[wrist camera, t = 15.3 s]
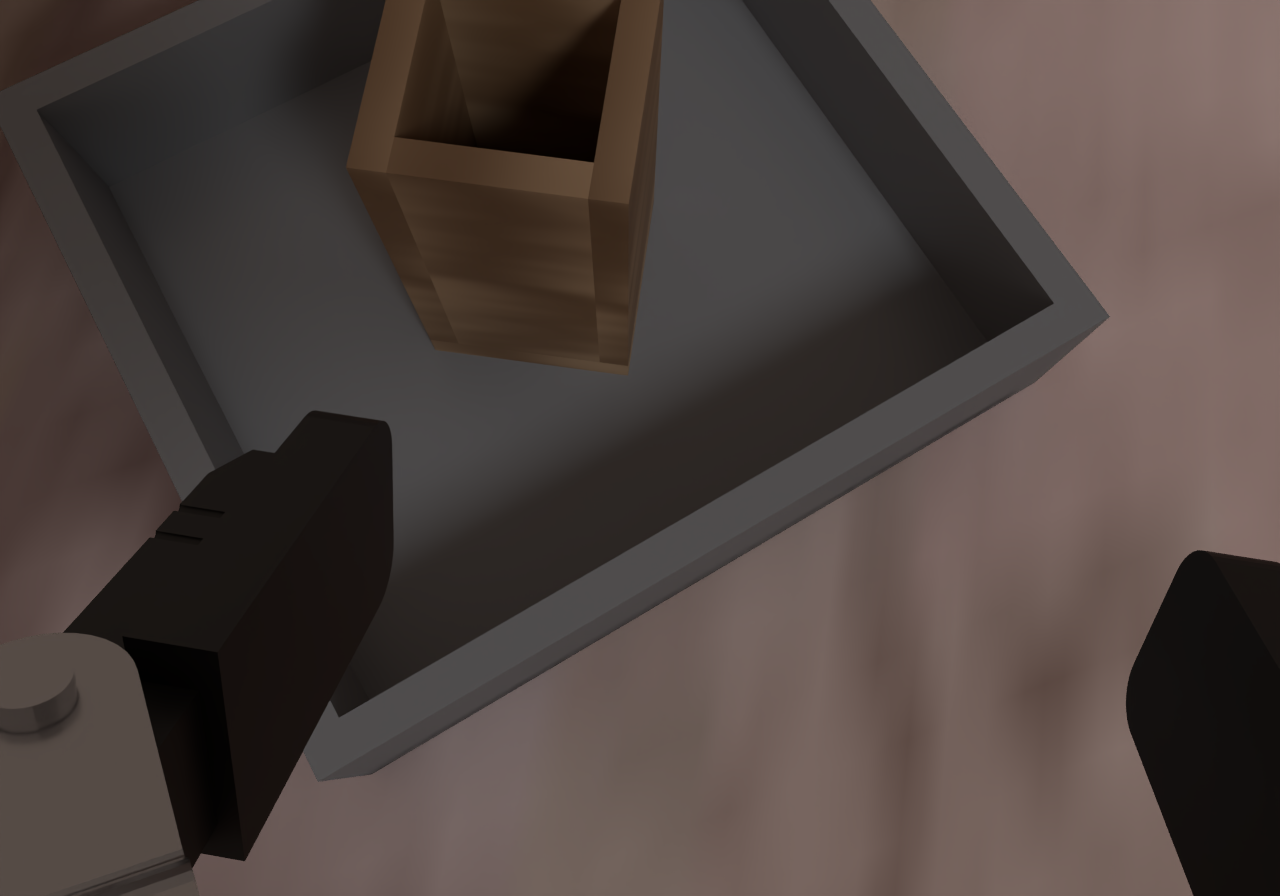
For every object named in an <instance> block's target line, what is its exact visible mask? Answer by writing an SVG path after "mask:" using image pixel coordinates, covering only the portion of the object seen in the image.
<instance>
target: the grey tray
mask: <svg viewBox="0 0 1280 896" xmlns="http://www.w3.org/2000/svg"><path fill="white" fill-rule="evenodd" d="M385 1H386V0H198V1H196V2H194V3H191V4H189V5H187V6H185V7H183V8H181V9H178V10H176V11H174V12H172V13H170V14H167V15H165V16H163V17H161V18H159V19H157V20H154V21H152V22H150V23H148V24H146V25H143V26H141V27H139V28H137V29H135V30H133V31H130V32H128V33H126V34H124V35H122V36H119V37H117V38H115V39H113V40H111V41H109V42H106V43H104V44H102V45H100V46H98V47H96V48H93V49H91V50H89V51H87V52H85V53H82V54H80V55H78V56H76V57H74V58H72V59H69V60H67V61H65V62H63V63H61V64H58V65H56V66H54V67H52V68H50V69H48V70H45V71H43V72H41V73H39V74H37V75H34V76H32V77H30V78H28V79H26V80H24V81H21V82H19V83H17V84H15V85H13V86H10V87H8V88H6V89H4V90H2V91H0V127H1V129H2V131H3V133H4V135H5V137H6V139H7V141H8V143H9V145H10V147H11V150H12V152H13V154H14V156H15V158H16V160H17V162H18V164H19V166H20V168H21V170H22V172H23V174H24V176H25V178H26V180H27V183H28V185H29V187H30V189H31V191H32V193H33V195H34V197H35V199H36V201H37V203H38V205H39V207H40V209H41V211H42V213H43V216H44V218H45V220H46V222H47V224H48V226H49V228H50V230H51V232H52V234H53V236H54V238H55V240H56V242H57V244H58V246H59V249H60V251H61V253H62V255H63V257H64V259H65V261H66V263H67V265H68V267H69V269H70V271H71V273H72V275H73V277H74V279H75V282H76V284H77V286H78V288H79V290H80V292H81V294H82V296H83V298H84V300H85V302H86V304H87V306H88V308H89V310H90V312H91V315H92V317H93V319H94V321H95V323H96V325H97V327H98V329H99V331H100V333H101V335H102V337H103V339H104V341H105V343H106V345H107V348H108V350H109V352H110V354H111V356H112V358H113V360H114V362H115V364H116V366H117V368H118V370H119V372H120V374H121V376H122V378H123V381H124V383H125V385H126V387H127V389H128V391H129V393H130V395H131V397H132V399H133V401H134V403H135V405H136V407H137V409H138V411H139V414H140V416H141V418H142V420H143V422H144V424H145V426H146V428H147V430H148V432H149V434H150V436H151V438H152V440H153V442H154V444H155V447H156V449H157V451H158V453H159V455H160V457H161V459H162V461H163V463H164V465H165V467H166V469H167V471H168V473H169V475H170V477H171V480H172V482H173V484H174V486H175V488H176V490H177V492H178V494H179V496H180V498H181V500H182V501H183V500H184V499H185V498H186V497H187V496H188V495H189V494H190V493H191V492H192V490H193V489H194V488H195V487H196V486H197V485H198V484H199V483H200V482H201V481H202V479H203V478H204V477H205V476H206V475H207V474H208V473H210V472H211V471H213V470H215V469H217V468H219V467H221V466H223V465H225V464H226V463H228V462H230V461H232V460H234V459H236V458H238V457H240V456H241V455H243V454H245V453H247V452H249V451H251V450H260V451H266V452H272V453H275V452H276V451H277V449H278V448H279V447H280V446H281V445H282V443H283V442H284V441H285V440H286V439H287V437H288V436H289V435H290V434H291V433H292V431H293V430H294V429H295V428H296V427H297V425H298V424H299V423H300V422H301V421H302V419H303V418H304V417H305V416H306V415H307V414H308V413H309V412H311V411H314V410H317V411H324V412H330V413H336V414H343V415H349V416H356V417H362V418H368V419H375V420H381V421H385V422H387V424H388V425H389V427H390V431H391V436H392V459H393V524H394V551H393V561H392V567H391V573H390V577H389V581H388V585H387V589H386V592H385V595H384V597H383V600H382V602H381V604H380V606H379V608H378V610H377V612H376V614H375V616H374V618H373V620H372V622H371V624H370V625H369V627H368V629H367V631H366V633H365V635H364V637H363V639H362V641H361V642H360V644H359V646H358V648H357V650H356V652H355V654H354V656H353V658H352V660H351V661H350V663H349V665H348V667H347V669H346V671H345V673H344V675H343V677H342V678H341V680H340V682H339V684H338V686H337V688H336V690H335V692H334V694H333V695H332V697H331V699H330V701H329V703H328V705H327V707H326V709H325V711H324V712H323V714H322V716H321V718H320V720H319V722H318V724H317V726H316V728H315V729H314V731H313V733H312V735H311V737H310V739H309V741H308V743H307V745H306V746H305V748H304V750H303V752H304V754H305V756H306V758H307V760H308V762H309V764H310V766H311V768H312V770H313V772H314V775H315V777H316V779H317V781H318V782H319V781H327V780H334V779H341V778H349V777H356V776H363V775H371V774H373V773H374V772H376V771H378V770H379V769H381V768H383V767H385V766H386V765H388V764H390V763H391V762H393V761H395V760H396V759H398V758H400V757H401V756H403V755H405V754H407V753H408V752H410V751H412V750H413V749H415V748H417V747H418V746H420V745H422V744H423V743H425V742H427V741H429V740H430V739H432V738H434V737H435V736H437V735H439V734H440V733H442V732H444V731H445V730H447V729H449V728H451V727H452V726H454V725H456V724H457V723H459V722H461V721H462V720H464V719H466V718H467V717H469V716H471V715H473V714H474V713H476V712H478V711H479V710H481V709H483V708H484V707H486V706H488V705H489V704H491V703H493V702H495V701H496V700H498V699H500V698H501V697H503V696H505V695H506V694H508V693H510V692H511V691H513V690H515V689H517V688H518V687H520V686H522V685H523V684H525V683H527V682H528V681H530V680H532V679H533V678H535V677H537V676H539V675H540V674H542V673H544V672H545V671H547V670H549V669H550V668H552V667H554V666H555V665H557V664H559V663H561V662H562V661H564V660H566V659H567V658H569V657H571V656H572V655H574V654H576V653H577V652H579V651H581V650H583V649H584V648H586V647H588V646H589V645H591V644H593V643H594V642H596V641H598V640H599V639H601V638H603V637H605V636H606V635H608V634H610V633H611V632H613V631H615V630H616V629H618V628H620V627H621V626H623V625H625V624H627V623H628V622H630V621H632V620H633V619H635V618H637V617H638V616H640V615H642V614H643V613H645V612H647V611H649V610H650V609H652V608H654V607H655V606H657V605H659V604H660V603H662V602H664V601H665V600H667V599H669V598H671V597H672V596H674V595H676V594H677V593H679V592H681V591H682V590H684V589H686V588H687V587H689V586H691V585H693V584H694V583H696V582H698V581H699V580H701V579H703V578H704V577H706V576H708V575H709V574H711V573H713V572H715V571H716V570H718V569H720V568H721V567H723V566H725V565H726V564H728V563H730V562H731V561H733V560H735V559H737V558H738V557H740V556H742V555H743V554H745V553H747V552H748V551H750V550H752V549H753V548H755V547H757V546H759V545H760V544H762V543H764V542H765V541H767V540H769V539H770V538H772V537H774V536H775V535H777V534H779V533H781V532H782V531H784V530H786V529H787V528H789V527H791V526H792V525H794V524H796V523H797V522H799V521H801V520H803V519H804V518H806V517H808V516H809V515H811V514H813V513H814V512H816V511H818V510H819V509H821V508H823V507H825V506H826V505H828V504H830V503H831V502H833V501H835V500H836V499H838V498H840V497H841V496H843V495H845V494H847V493H848V492H850V491H852V490H853V489H855V488H857V487H858V486H860V485H862V484H863V483H865V482H867V481H869V480H870V479H872V478H874V477H875V476H877V475H879V474H880V473H882V472H884V471H885V470H887V469H889V468H891V467H892V466H894V465H896V464H897V463H899V462H901V461H902V460H904V459H906V458H907V457H909V456H911V455H913V454H914V453H916V452H918V451H919V450H921V449H923V448H924V447H926V446H928V445H929V444H931V443H933V442H935V441H936V440H938V439H940V438H941V437H943V436H945V435H946V434H948V433H950V432H951V431H953V430H955V429H957V428H958V427H960V426H962V425H963V424H965V423H967V422H968V421H970V420H972V419H973V418H975V417H977V416H979V415H980V414H982V413H984V412H985V411H987V410H989V409H990V408H992V407H994V406H995V405H997V404H999V403H1001V402H1002V401H1004V400H1006V399H1007V398H1009V397H1011V396H1012V395H1014V394H1016V393H1017V392H1019V391H1021V390H1023V389H1024V388H1026V387H1028V386H1029V385H1031V384H1033V383H1034V382H1036V381H1037V380H1038V379H1039V378H1040V377H1042V376H1043V375H1044V374H1045V373H1046V372H1047V371H1048V370H1050V369H1051V368H1052V367H1053V366H1054V365H1055V364H1056V363H1058V362H1059V361H1060V360H1061V359H1062V358H1063V357H1064V356H1066V355H1067V354H1068V353H1069V352H1070V351H1071V350H1072V349H1074V348H1075V347H1076V346H1077V345H1078V344H1079V343H1080V342H1082V341H1083V340H1084V339H1085V338H1086V337H1087V336H1088V335H1090V334H1091V333H1092V332H1093V331H1094V330H1095V329H1096V328H1098V327H1099V326H1100V325H1101V324H1102V323H1103V322H1104V321H1106V320H1107V319H1108V318H1109V317H1110V316H1109V315H1108V314H1107V312H1106V311H1105V310H1104V308H1103V307H1102V306H1101V304H1100V303H1099V302H1098V300H1097V299H1096V298H1095V296H1094V295H1093V294H1092V292H1091V291H1090V290H1089V288H1088V287H1087V286H1086V285H1085V283H1084V282H1083V281H1082V279H1081V278H1080V277H1079V275H1078V274H1077V273H1076V271H1075V270H1074V269H1073V267H1072V266H1071V265H1070V263H1069V262H1068V261H1067V259H1066V258H1065V257H1064V255H1063V254H1062V253H1061V251H1060V250H1059V249H1058V247H1057V246H1056V245H1055V244H1054V242H1053V241H1052V240H1051V238H1050V237H1049V236H1048V234H1047V233H1046V232H1045V230H1044V229H1043V228H1042V226H1041V225H1040V224H1039V222H1038V221H1037V220H1036V218H1035V217H1034V216H1033V214H1032V213H1031V212H1030V210H1029V209H1028V208H1027V207H1026V205H1025V204H1024V203H1023V201H1022V200H1021V199H1020V197H1019V196H1018V195H1017V193H1016V192H1015V191H1014V189H1013V188H1012V187H1011V185H1010V184H1009V183H1008V181H1007V180H1006V179H1005V177H1004V176H1003V175H1002V173H1001V172H1000V171H999V170H998V168H997V167H996V166H995V164H994V163H993V162H992V160H991V159H990V158H989V156H988V155H987V154H986V152H985V151H984V150H983V148H982V147H981V146H980V144H979V143H978V142H977V140H976V139H975V138H974V136H973V135H972V134H971V133H970V131H969V130H968V129H967V127H966V126H965V125H964V123H963V122H962V121H961V119H960V118H959V117H958V115H957V114H956V113H955V111H954V110H953V109H952V107H951V106H950V105H949V103H948V102H947V101H946V99H945V98H944V97H943V95H942V94H941V93H940V92H939V90H938V89H937V88H936V86H935V85H934V84H933V82H932V81H931V80H930V78H929V77H928V76H927V74H926V73H925V72H924V70H923V69H922V68H921V66H920V65H919V64H918V62H917V61H916V60H915V58H914V57H913V56H912V55H911V53H910V52H909V51H908V49H907V48H906V47H905V45H904V44H903V43H902V41H901V40H900V39H899V37H898V36H897V35H896V33H895V32H894V31H893V29H892V28H891V27H890V25H889V24H888V23H887V21H886V20H885V19H884V18H883V16H882V15H881V14H880V12H879V11H878V10H877V8H876V7H875V6H874V4H873V3H872V2H871V0H664V7H663V27H662V47H661V67H660V87H659V107H658V127H657V147H656V167H655V187H654V203H653V210H652V217H651V224H650V230H649V237H648V244H647V251H646V257H645V264H644V271H643V278H642V285H641V291H640V298H639V305H638V312H637V318H636V325H635V332H634V339H633V345H632V352H631V359H630V366H629V372H628V376H627V375H619V374H612V373H604V372H597V371H589V370H582V369H574V368H567V367H559V366H552V365H544V364H537V363H529V362H521V361H514V360H506V359H499V358H491V357H484V356H476V355H469V354H461V353H454V352H446V351H439V350H435V348H434V346H433V344H432V342H431V340H430V338H429V336H428V334H427V332H426V330H425V328H424V326H423V324H422V322H421V320H420V318H419V315H418V313H417V311H416V309H415V307H414V305H413V303H412V301H411V299H410V297H409V295H408V293H407V291H406V289H405V287H404V285H403V283H402V281H401V279H400V277H399V275H398V273H397V271H396V269H395V267H394V265H393V263H392V260H391V258H390V256H389V254H388V252H387V250H386V248H385V246H384V244H383V242H382V240H381V238H380V236H379V234H378V232H377V230H376V228H375V226H374V224H373V222H372V220H371V218H370V216H369V214H368V212H367V210H366V208H365V205H364V203H363V201H362V199H361V197H360V195H359V193H358V191H357V189H356V187H355V185H354V183H353V181H352V179H351V177H350V175H349V173H348V171H347V169H346V165H347V161H348V156H349V152H350V148H351V144H352V140H353V135H354V131H355V127H356V123H357V119H358V114H359V110H360V106H361V102H362V98H363V93H364V89H365V85H366V81H367V77H368V72H369V68H370V64H371V60H372V56H373V51H374V47H375V43H376V39H377V35H378V30H379V26H380V22H381V18H382V14H383V10H384V5H385Z"/></svg>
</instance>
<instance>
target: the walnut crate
mask: <svg viewBox="0 0 1280 896" xmlns="http://www.w3.org/2000/svg"><path fill="white" fill-rule="evenodd" d="M663 7H664V0H386V1H385V5H384V10H383V14H382V18H381V22H380V26H379V30H378V35H377V39H376V43H375V47H374V51H373V56H372V60H371V64H370V68H369V72H368V77H367V81H366V85H365V89H364V93H363V98H362V102H361V106H360V110H359V114H358V119H357V123H356V127H355V131H354V135H353V140H352V144H351V148H350V152H349V156H348V161H347V165H346V169H347V171H348V173H349V175H350V177H351V179H352V181H353V183H354V185H355V187H356V189H357V191H358V193H359V195H360V197H361V199H362V201H363V203H364V205H365V208H366V210H367V212H368V214H369V216H370V218H371V220H372V222H373V224H374V226H375V228H376V230H377V232H378V234H379V236H380V238H381V240H382V242H383V244H384V246H385V248H386V250H387V252H388V254H389V256H390V258H391V260H392V263H393V265H394V267H395V269H396V271H397V273H398V275H399V277H400V279H401V281H402V283H403V285H404V287H405V289H406V291H407V293H408V295H409V297H410V299H411V301H412V303H413V305H414V307H415V309H416V311H417V313H418V315H419V318H420V320H421V322H422V324H423V326H424V328H425V330H426V332H427V334H428V336H429V338H430V340H431V342H432V344H433V346H434V348H435V350H439V351H446V352H454V353H461V354H469V355H476V356H484V357H491V358H499V359H506V360H514V361H521V362H529V363H537V364H544V365H552V366H559V367H567V368H574V369H582V370H589V371H597V372H604V373H612V374H619V375H627V376H628V372H629V366H630V359H631V352H632V345H633V339H634V332H635V325H636V318H637V312H638V305H639V298H640V291H641V285H642V278H643V271H644V264H645V257H646V251H647V244H648V237H649V230H650V224H651V217H652V210H653V203H654V187H655V167H656V147H657V127H658V107H659V87H660V67H661V47H662V27H663Z"/></svg>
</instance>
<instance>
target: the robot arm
mask: <svg viewBox="0 0 1280 896" xmlns="http://www.w3.org/2000/svg"><path fill="white" fill-rule="evenodd" d="M393 551H394V524H393V459H392V436H391V431H390V427H389V425H388V424H387V422H385V421H381V420H375V419H368V418H362V417H356V416H349V415H343V414H336V413H330V412H324V411H317V410H314V411H311V412H309V413H308V414H307V415H306V416H305V417H304V418H303V419H302V421H301V422H300V423H299V424H298V425H297V427H296V428H295V429H294V430H293V431H292V433H291V434H290V435H289V436H288V437H287V439H286V440H285V441H284V442H283V443H282V445H281V446H280V447H279V448H278V449H277V451H276V452H275V453H272V452H266V451H260V450H251V451H249V452H247V453H245V454H243V455H241V456H240V457H238V458H236V459H234V460H232V461H230V462H228V463H226V464H225V465H223V466H221V467H219V468H217V469H215V470H213V471H211V472H210V473H208V474H207V475H206V476H205V477H204V478H203V479H202V481H201V482H200V483H199V484H198V485H197V486H196V487H195V488H194V489H193V490H192V492H191V493H190V494H189V495H188V496H187V497H186V498H185V499H184V500H183V501H182V503H181V504H180V508H179V511H173V512H172V514H171V515H170V516H169V517H168V518H167V519H166V520H165V521H164V522H163V523H162V525H161V526H160V527H159V528H158V529H157V530H156V535H155V538H149V539H148V540H147V541H146V542H145V543H144V544H143V545H142V547H141V548H140V549H139V550H138V551H137V552H136V553H135V554H134V555H133V556H132V558H131V559H130V560H129V561H128V562H127V563H126V564H125V565H124V566H123V567H122V569H121V570H120V571H119V572H118V573H117V574H116V575H115V576H114V577H113V578H112V580H111V581H110V582H109V583H108V584H107V585H106V586H105V587H104V588H103V589H102V591H101V592H100V593H99V594H98V595H97V596H96V597H95V598H94V599H93V600H92V601H91V603H90V604H89V605H88V606H87V607H86V608H85V609H84V610H83V611H82V612H81V614H80V615H79V616H78V617H77V618H76V619H75V620H74V621H73V622H72V623H71V625H70V626H69V627H68V628H67V629H66V630H65V631H64V632H63V633H52V634H42V635H36V636H31V637H26V638H22V639H18V640H15V641H11V642H8V643H5V644H2V645H0V896H199V892H198V888H197V885H196V881H195V877H194V874H193V870H192V868H193V866H194V864H195V862H196V861H197V859H198V857H199V856H200V854H201V853H202V854H208V855H213V856H219V857H225V858H230V859H236V860H241V861H245V860H246V858H247V856H248V854H249V852H250V850H251V849H252V847H253V845H254V843H255V841H256V839H257V837H258V835H259V833H260V832H261V830H262V828H263V826H264V824H265V822H266V820H267V818H268V816H269V815H270V813H271V811H272V809H273V807H274V805H275V803H276V801H277V799H278V798H279V796H280V794H281V792H282V790H283V788H284V786H285V784H286V782H287V781H288V779H289V777H290V775H291V773H292V771H293V769H294V767H295V765H296V764H297V762H298V760H299V758H300V756H301V754H302V752H303V750H304V748H305V746H306V745H307V743H308V741H309V739H310V737H311V735H312V733H313V731H314V729H315V728H316V726H317V724H318V722H319V720H320V718H321V716H322V714H323V712H324V711H325V709H326V707H327V705H328V703H329V701H330V699H331V697H332V695H333V694H334V692H335V690H336V688H337V686H338V684H339V682H340V680H341V678H342V677H343V675H344V673H345V671H346V669H347V667H348V665H349V663H350V661H351V660H352V658H353V656H354V654H355V652H356V650H357V648H358V646H359V644H360V642H361V641H362V639H363V637H364V635H365V633H366V631H367V629H368V627H369V625H370V624H371V622H372V620H373V618H374V616H375V614H376V612H377V610H378V608H379V606H380V604H381V602H382V600H383V597H384V595H385V592H386V589H387V585H388V581H389V577H390V573H391V567H392V561H393ZM1126 713H1127V720H1128V725H1129V729H1130V732H1131V735H1132V738H1133V740H1134V743H1135V745H1136V748H1137V750H1138V753H1139V756H1140V758H1141V761H1142V763H1143V766H1144V769H1145V771H1146V774H1147V776H1148V779H1149V782H1150V784H1151V787H1152V789H1153V792H1154V795H1155V797H1156V800H1157V802H1158V805H1159V807H1160V810H1161V813H1162V815H1163V818H1164V820H1165V823H1166V826H1167V828H1168V831H1169V833H1170V836H1171V839H1172V841H1173V844H1174V846H1175V849H1176V852H1177V854H1178V857H1179V859H1180V862H1181V865H1182V867H1183V870H1184V872H1185V875H1186V877H1187V880H1188V883H1189V885H1190V888H1191V890H1192V893H1193V896H1280V563H1278V562H1273V561H1266V560H1260V559H1253V558H1247V557H1241V556H1234V555H1228V554H1221V553H1215V552H1209V551H1200V550H1198V551H1195V552H1192V553H1191V554H1189V555H1188V556H1187V557H1186V558H1185V559H1184V560H1183V562H1182V563H1181V565H1180V566H1179V568H1178V570H1177V572H1176V574H1175V576H1174V579H1173V581H1172V583H1171V585H1170V587H1169V589H1168V592H1167V594H1166V596H1165V598H1164V600H1163V602H1162V604H1161V607H1160V609H1159V611H1158V613H1157V615H1156V617H1155V619H1154V622H1153V624H1152V626H1151V628H1150V630H1149V632H1148V634H1147V637H1146V639H1145V641H1144V643H1143V645H1142V647H1141V649H1140V652H1139V654H1138V656H1137V658H1136V660H1135V662H1134V665H1133V667H1132V670H1131V673H1130V676H1129V681H1128V686H1127V694H1126Z"/></svg>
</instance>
